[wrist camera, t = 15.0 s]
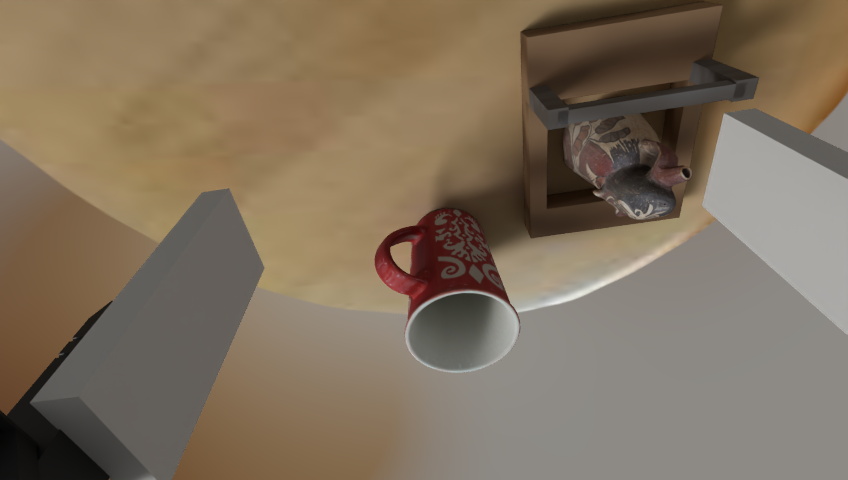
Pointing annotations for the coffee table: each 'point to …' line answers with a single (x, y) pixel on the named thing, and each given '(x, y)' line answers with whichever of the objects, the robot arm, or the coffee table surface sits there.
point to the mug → (451, 293)
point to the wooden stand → (613, 71)
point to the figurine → (625, 164)
